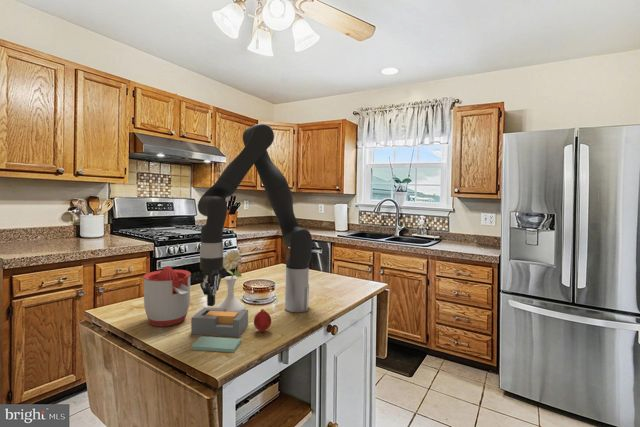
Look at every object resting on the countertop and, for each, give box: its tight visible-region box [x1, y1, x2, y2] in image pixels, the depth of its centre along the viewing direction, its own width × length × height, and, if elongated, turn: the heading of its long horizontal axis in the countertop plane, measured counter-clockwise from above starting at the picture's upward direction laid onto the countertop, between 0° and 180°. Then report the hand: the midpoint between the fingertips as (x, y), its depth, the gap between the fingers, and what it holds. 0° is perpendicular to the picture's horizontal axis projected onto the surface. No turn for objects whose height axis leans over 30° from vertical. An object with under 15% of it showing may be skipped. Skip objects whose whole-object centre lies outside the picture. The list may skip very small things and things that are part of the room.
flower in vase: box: [215, 249, 246, 314], centre depth 130 cm, size 13×11×25 cm
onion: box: [253, 308, 272, 333], centre depth 114 cm, size 6×6×8 cm
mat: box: [190, 335, 242, 353], centre depth 104 cm, size 13×7×1 cm, turn 85°
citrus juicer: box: [142, 265, 192, 328], centre depth 121 cm, size 16×17×20 cm
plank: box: [206, 311, 238, 324], centre depth 115 cm, size 10×4×2 cm, turn 85°
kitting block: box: [190, 306, 249, 338], centre depth 116 cm, size 16×10×6 cm, turn 85°
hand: (211, 305), depth 116 cm, fingers closed
